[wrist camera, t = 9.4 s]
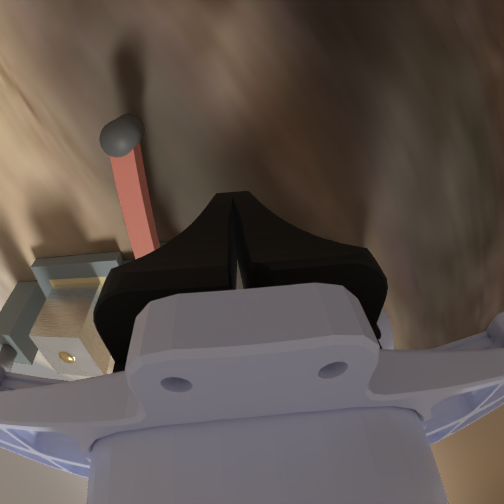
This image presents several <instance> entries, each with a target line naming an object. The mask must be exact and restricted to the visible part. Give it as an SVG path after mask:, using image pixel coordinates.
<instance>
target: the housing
mask: <svg viewBox="0 0 504 504" xmlns="http://www.w3.org/2000/svg"><path fill="white" fill-rule="evenodd" d="M102 287H103V286H102V284H101V282H90V283H73V284H56V285H54V286H53V288H52V289H51V291H50V293H49V295H48V297H47V299H46V301H45V303H44V305H43V307H42V309H41V311H40V313H39V315H38V317H37V319H36V321H35V323H34V325H33V327H32V329H31V332H30V334H29V337H30V338H31V340H32V341H33V342H34V344H35V345H36V346H37V348H38V349H39V350H40V352H41V353H42V354H43V356H44V357H45V358H46V359H47V361H48V362H49V363H50V365H51V366H52V367H53V368H54V369H55V371H56V372H57V373H60V374H70V375H81V376H95V377H96V376H101V375H106V373H107V369H108V364H109V360H110V356H111V354H110V353H109V351H108V349H107V348H106V346H105V344H104V342H103V341H102V339H101V337H100V335H99V334H98V332H97V330H96V327H95V324H94V322H93V311H94V308H95V305H96V303H97V300H98V297H99V295H100V292H101V289H102Z"/></svg>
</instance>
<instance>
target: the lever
mask: <svg viewBox="0 0 504 504" xmlns="http://www.w3.org/2000/svg"><path fill="white" fill-rule="evenodd" d="M143 136H144V125H143V122H142V121H141V119H140V118H139V117H137V116H135V115H133V114H124V115H122V116H120V117H118V118H116V119H115V120H113V121H111V122H110V123H108V124H107V125H105V126H104V128H103V129H102V131H101V134H100V144H101V147H102V149H103V150H104V152H105V153H107V154H108V155H110V159H111V164H112V169H113V173H114V178H115V183H116V187H117V191H118V196H119V200H120V204H121V208H122V212H123V216H124V220H125V224H126V227H127V231H128V235H129V238H130V242H131V245H132V249H133V252H134V256H135V259H138V258H140V257H142V256H144V255H146V254H148V253H150V252H152V251H154V250H156V249H158V248H160V244H159V239H158V235H157V231H156V226H155V221H154V217H153V212H152V207H151V202H150V197H149V192H148V187H147V181H146V176H145V170H144V165H143V159H142V153H141V146H140V141H141V140H142V138H143Z"/></svg>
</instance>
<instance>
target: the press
mask: <svg viewBox="0 0 504 504" xmlns="http://www.w3.org/2000/svg"><path fill="white" fill-rule="evenodd" d="M166 243H167V242H159V244H160V247H161V246H163V245H164V244H166ZM130 261H133V260H129V261H123V258H122V255H121V251H118V252H107V253H96V254H85V255H74V256H63V257H53V258H42V259H36V260H35V261H34V263H33V264H32V266H31V269H32V271H33V273H34V275H35V277H36V279H37V281H28V282H18V283H17V285H16V286H15V288H14V290H13V291H12V293H11V295H10V296H9V298H8V300H7V301H6V303H5V305H4V306H3V308H2V310H1V312H0V349H1V350H0V364H1V365H2V367H3V368H4V369H5V371H6V372H10V371H11V368H12V366H13V363H14V362H16V363H22V364H29V365H32V363H33V361H34V358H35V356H36V353H37V351H38V348H37V346H36V345H35V344H34V342H33V341H32V340H31V338H30V337H29V334H30V332H31V329H32V327H33V325H34V323H35V321H36V319H37V317H38V315H39V313H40V311H41V309H42V307H43V305H44V303H45V301H46V299H47V297H48V295H49V293H50V291H51V289H52V288H53V286H54V285H56V284H73V283H90V282H101V284H102V286H103V284H104V282H105V280H106V278H107V276H108V274H109V272H110V270H111V268H114V267H117V266H120V265H123V264H125V263H128V262H130Z"/></svg>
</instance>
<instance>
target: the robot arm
mask: <svg viewBox="0 0 504 504" xmlns="http://www.w3.org/2000/svg"><path fill="white" fill-rule="evenodd" d="M237 259H238V264H239V269H240V274H241V278H242V283H243V288H244V289H239V290H236V277H237ZM387 290H388V284H387V278H386V276H385V275H384V273H383V271H382V270H381V268H380V266H379V265H378V263H377V261H376V260H375V258H374V257H373V255H372V254H371V253H370V251H369V250H368V249H367V248H362V247H357V246H352V245H346V244H341V243H338V242H334V241H331V240H327V239H324V238H321V237H318V236H315V235H313V234H310V233H308V232H305V231H303V230H301V229H299V228H297V227H295V226H293V225H291V224H289V223H287V222H286V221H284V220H282V219H281V218H279V217H278V216H277V215H275V214H274V213H272V212H271V211H270V210H268V209H267V208H266V207H265V206H264V205H263V204H261V203H260V202H259V201H258V200H257V199H256V198H255V197H254V196H253V195H252V194H251V193H250V192H249V191H242V192H228V193H216V194H215V196H214V197H213V198H212V200H211V201H210V203H209V204H208V205H207V207H206V208H205V209H204V210H203V212H202V213H201V214H200V215H199V216H198V218H197V219H196V220H195V221H194V222H193V223H192V224H191V225H190V226H189V227H188V228H186V229H185V230H184V231H183V232H182V233H180V234H179V235H178V236H176V237H175V238H174V239H172V240H170V241H169V242H167V243H166V244H164V245H163V246H161V247H160V248H158V249H156V250H154V251H152V252H150V253H148V254H146V255H144V256H142V257H140V258H138V259H136V260H133V261H130V262H128V263H125V264H123V265H120V266H117V267H114V268H111V270H110V272H109V274H108V276H107V278H106V280H105V282H104V284H103V287H102V289H101V292H100V295H99V297H98V300H97V303H96V305H95V308H94V311H93V322H94V324H95V327H96V330H97V332H98V334H99V335H100V337H101V339H102V341H103V342H104V344H105V346H106V348H107V349H108V351H109V353H110V354H111V356H112V358H113V359H114V361H115V364H114V369H113V373H111V374H106V375H101V376H96V377H91V378H86V379H81V380H75V381H64V380H56V379H48V378H41V377H35V376H28V375H23V374H17V373H11V372H6V371H5V369H4V368H3V367H2V365H1V364H0V447H1V448H3V449H6V450H8V451H11V452H13V453H15V454H18V455H20V456H23V457H26V458H28V459H31V460H33V461H36V462H39V463H41V464H44V465H47V466H50V467H53V468H56V469H59V470H62V471H65V472H68V473H71V474H75V475H78V476H81V477H85V478H89V481H88V492H87V504H449V503H448V500H447V496H446V493H445V490H444V486H443V483H442V480H441V477H440V474H439V471H438V468H437V465H436V462H435V459H434V456H433V453H432V450H431V447H430V445H432V444H434V443H436V442H438V441H440V440H442V439H444V438H446V437H448V436H450V435H452V434H453V433H455V432H457V431H459V430H461V429H462V428H464V427H466V426H468V425H469V424H471V423H473V422H475V421H476V420H478V419H480V418H481V417H483V416H484V415H486V414H488V413H490V412H491V411H493V410H494V409H496V408H497V407H499V406H501V405H502V404H504V311H503V312H501V313H499V314H498V315H497V316H495V318H494V319H493V320H492V322H491V323H490V325H489V327H488V329H487V331H484V332H482V333H479V334H476V335H473V336H470V337H467V338H464V339H462V340H458V341H455V342H452V343H449V344H446V345H443V346H439V347H436V348H433V349H429V350H393V348H394V342H393V334H392V328H391V325H390V322H389V319H388V316H387V314H386V312H385V310H384V309H383V305H384V302H385V299H386V295H387Z"/></svg>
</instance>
